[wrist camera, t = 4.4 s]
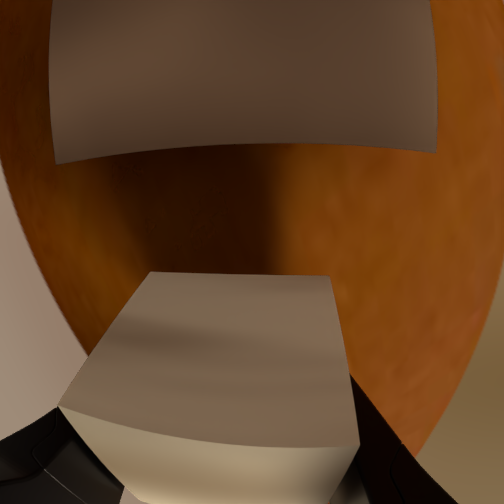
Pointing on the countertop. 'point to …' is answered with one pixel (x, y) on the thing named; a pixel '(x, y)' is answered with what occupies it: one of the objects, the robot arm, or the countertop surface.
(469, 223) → the countertop surface
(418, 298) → the countertop surface
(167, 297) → the block
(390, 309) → the countertop surface
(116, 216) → the countertop surface
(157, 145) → the base
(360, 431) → the robot arm
